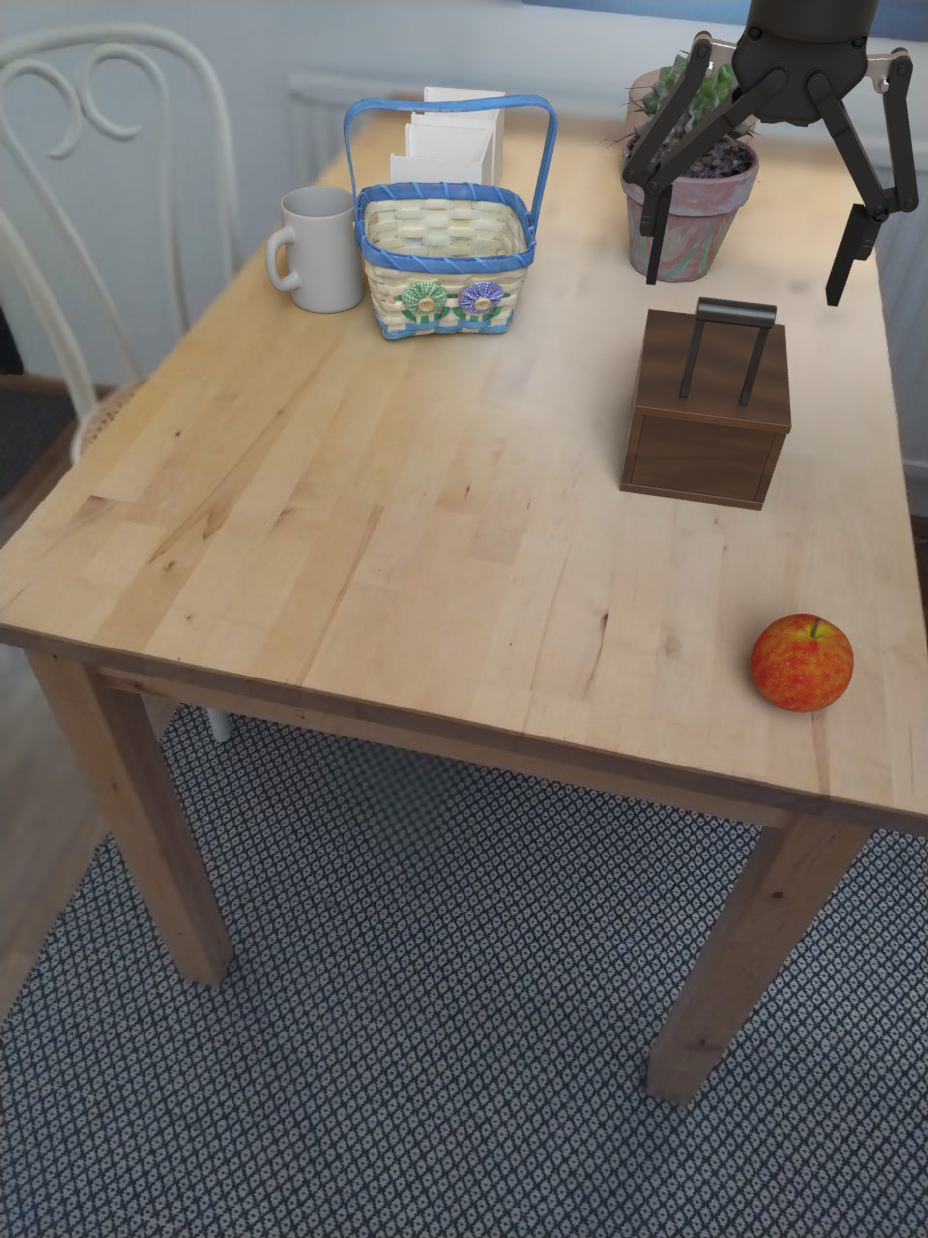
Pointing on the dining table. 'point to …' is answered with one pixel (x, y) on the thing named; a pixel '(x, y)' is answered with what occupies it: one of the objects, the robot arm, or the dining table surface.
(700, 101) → the potted plant
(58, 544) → the dining table surface
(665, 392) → the lid
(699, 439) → the chest
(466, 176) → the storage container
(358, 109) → the basket
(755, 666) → the fruit
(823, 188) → the dining table surface
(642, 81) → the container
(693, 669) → the dining table surface
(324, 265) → the mug
